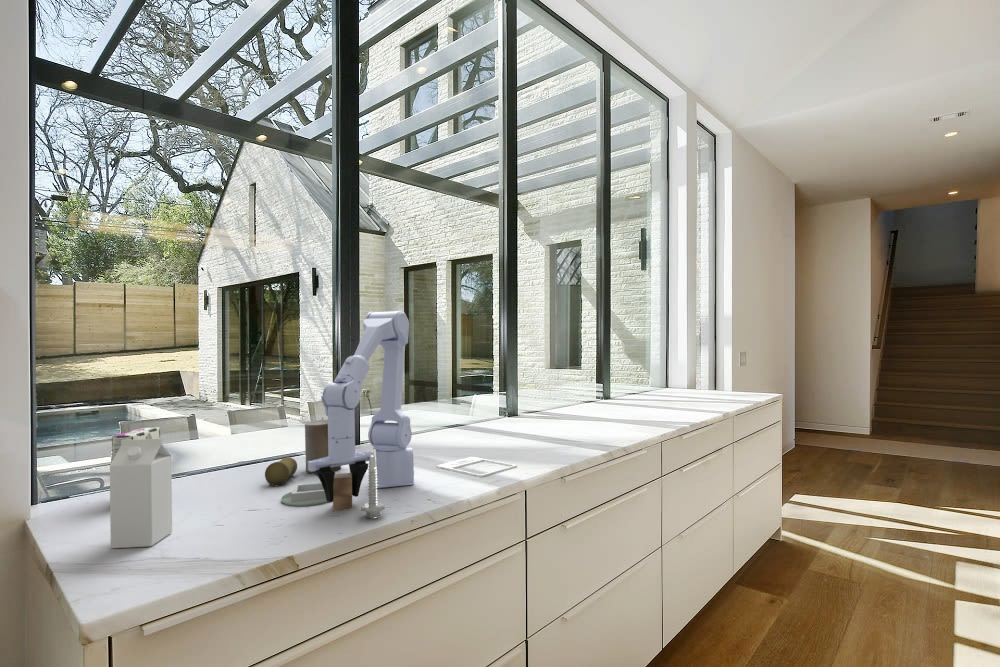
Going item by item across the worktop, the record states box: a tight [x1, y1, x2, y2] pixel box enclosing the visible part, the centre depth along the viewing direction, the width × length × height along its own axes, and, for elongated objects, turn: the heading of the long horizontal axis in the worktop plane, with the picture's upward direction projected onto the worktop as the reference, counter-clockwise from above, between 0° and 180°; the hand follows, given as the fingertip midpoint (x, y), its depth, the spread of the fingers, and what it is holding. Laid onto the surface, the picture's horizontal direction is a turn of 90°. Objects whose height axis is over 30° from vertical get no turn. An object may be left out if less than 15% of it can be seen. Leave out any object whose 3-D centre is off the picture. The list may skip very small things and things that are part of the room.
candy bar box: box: [111, 426, 161, 462], centre depth 126 cm, size 11×5×16 cm, turn 4°
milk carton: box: [109, 438, 173, 549], centre depth 100 cm, size 7×7×19 cm
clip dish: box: [280, 481, 329, 507], centre depth 126 cm, size 13×13×2 cm
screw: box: [360, 454, 386, 519], centre depth 111 cm, size 13×5×5 cm
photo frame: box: [435, 456, 518, 478], centre depth 153 cm, size 15×1×18 cm
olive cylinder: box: [264, 456, 298, 487], centre depth 142 cm, size 6×6×11 cm
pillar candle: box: [304, 417, 342, 474], centre depth 153 cm, size 10×10×15 cm
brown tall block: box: [332, 472, 353, 512], centre depth 118 cm, size 4×4×7 cm
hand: (342, 498), depth 118 cm, fingers closed on brown tall block, 5 cm apart
